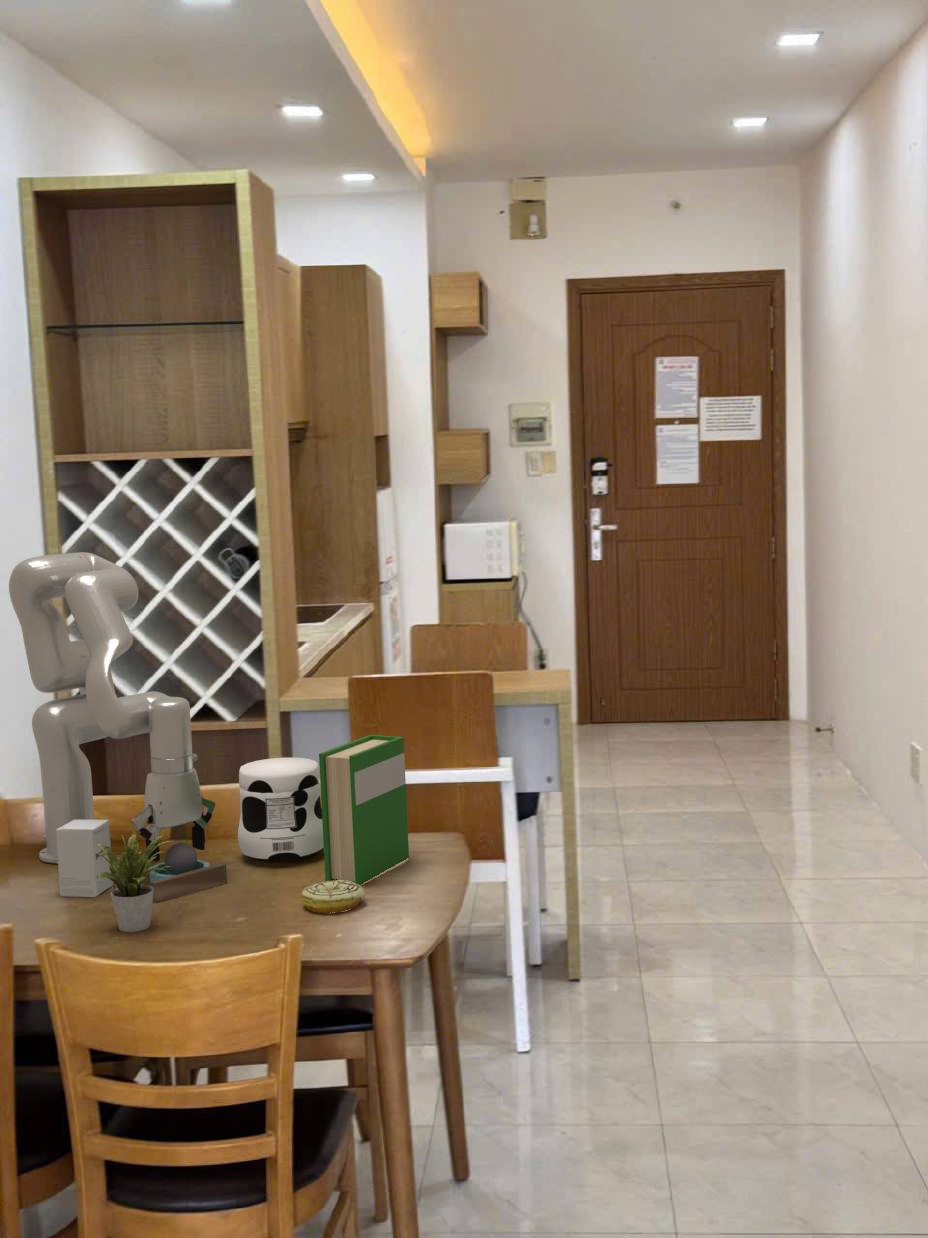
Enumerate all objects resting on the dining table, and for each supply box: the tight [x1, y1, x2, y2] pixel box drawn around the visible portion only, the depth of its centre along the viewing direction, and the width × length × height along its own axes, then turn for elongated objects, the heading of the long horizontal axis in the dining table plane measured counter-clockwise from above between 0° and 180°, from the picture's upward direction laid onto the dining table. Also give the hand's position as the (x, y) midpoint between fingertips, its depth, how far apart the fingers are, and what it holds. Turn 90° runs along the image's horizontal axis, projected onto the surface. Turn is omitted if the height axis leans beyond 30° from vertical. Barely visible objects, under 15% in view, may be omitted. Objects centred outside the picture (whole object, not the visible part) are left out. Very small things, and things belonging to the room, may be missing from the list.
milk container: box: [236, 757, 324, 864], centre depth 282 cm, size 17×17×18 cm
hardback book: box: [318, 734, 410, 885], centre depth 269 cm, size 18×7×24 cm, turn 152°
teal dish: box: [148, 859, 210, 883], centre depth 270 cm, size 11×11×2 cm
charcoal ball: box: [163, 842, 198, 875], centre depth 270 cm, size 6×6×6 cm
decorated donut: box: [301, 879, 366, 914], centre depth 251 cm, size 10×11×4 cm
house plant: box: [94, 829, 173, 933], centre depth 242 cm, size 14×14×16 cm
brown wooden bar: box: [149, 862, 228, 904], centre depth 262 cm, size 2×15×4 cm, turn 133°
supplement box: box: [56, 819, 114, 898], centre depth 265 cm, size 7×7×13 cm
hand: (176, 854), depth 270 cm, fingers open, 9 cm apart
